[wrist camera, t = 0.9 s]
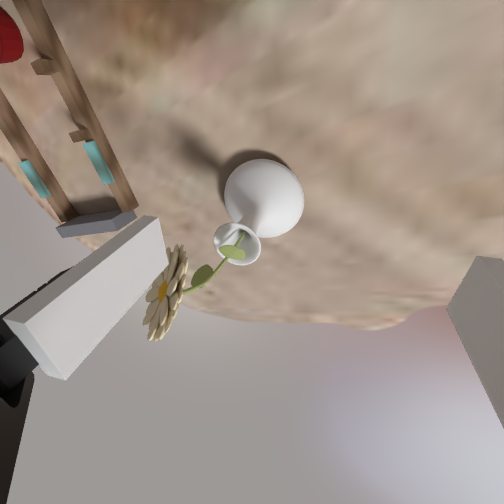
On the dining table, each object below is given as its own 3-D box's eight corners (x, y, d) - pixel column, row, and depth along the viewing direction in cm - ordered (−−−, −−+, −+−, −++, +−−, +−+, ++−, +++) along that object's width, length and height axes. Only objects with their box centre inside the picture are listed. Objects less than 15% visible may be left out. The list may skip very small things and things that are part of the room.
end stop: (78, 215, 49) (55, 227, 45) (131, 207, 45) (111, 219, 41) (84, 225, 50) (62, 237, 46) (136, 217, 46) (117, 230, 42)
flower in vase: (281, 139, 33) (198, 230, 13) (319, 214, 37) (301, 375, 17) (205, 184, 39) (67, 295, 19) (244, 244, 43) (165, 389, 23)
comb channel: (-59, 7, 35) (-104, -1, 31) (17, -49, 29) (-27, -68, 26) (72, 216, 50) (52, 227, 46) (139, 205, 44) (122, 216, 41)
